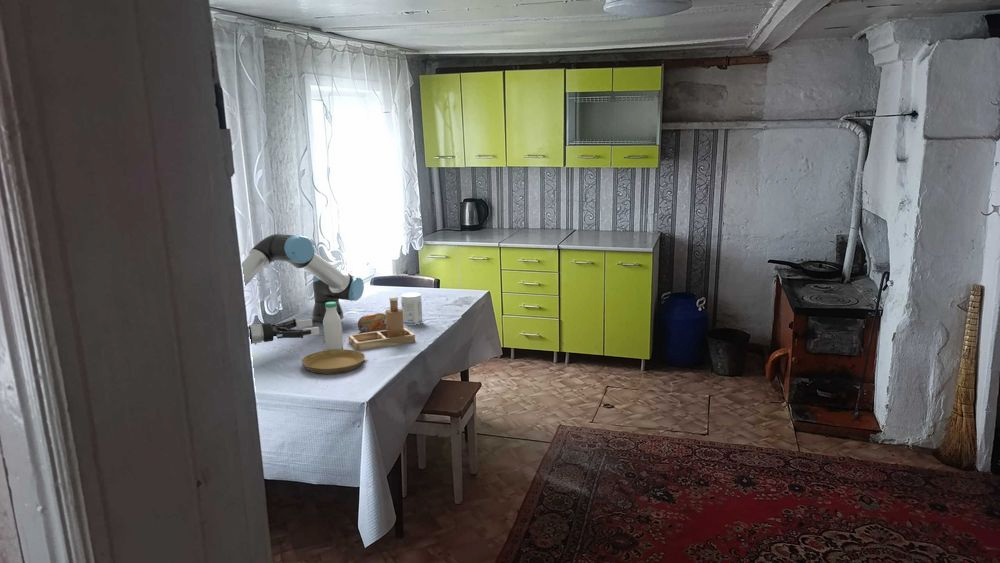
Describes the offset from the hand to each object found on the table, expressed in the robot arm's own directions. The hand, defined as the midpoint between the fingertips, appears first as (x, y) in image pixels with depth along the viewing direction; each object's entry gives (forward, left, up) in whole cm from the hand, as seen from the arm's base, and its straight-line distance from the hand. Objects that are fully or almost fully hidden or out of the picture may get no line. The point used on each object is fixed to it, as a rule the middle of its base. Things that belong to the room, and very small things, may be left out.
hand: (315, 326), depth 280 cm
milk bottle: (0, +7, -11) cm, 13 cm away
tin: (-16, +29, -11) cm, 35 cm away
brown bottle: (+4, +33, -10) cm, 35 cm away
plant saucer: (+22, +2, -11) cm, 25 cm away
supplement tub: (-19, +49, -11) cm, 54 cm away
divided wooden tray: (+4, +27, -11) cm, 29 cm away
